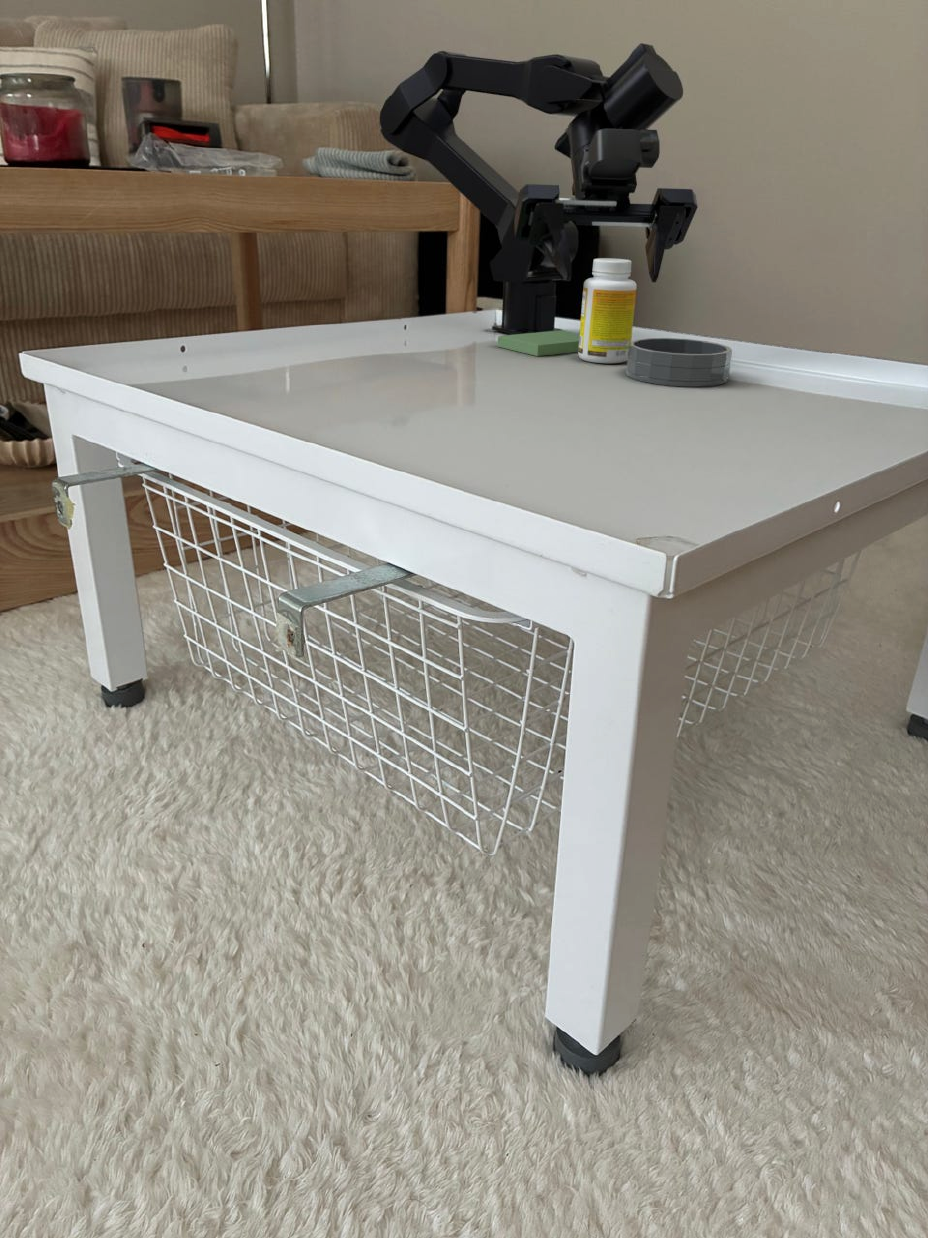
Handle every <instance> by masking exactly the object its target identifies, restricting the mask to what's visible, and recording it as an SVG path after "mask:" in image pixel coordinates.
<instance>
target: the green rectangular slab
mask: <svg viewBox="0 0 928 1238" xmlns="http://www.w3.org/2000/svg"><path fill="white" fill-rule="evenodd" d="M579 336H580V332H579V333H578V332H573V331H568V330H565V329H562V330H559V331H548V332H537V333H526V334H515V335H514V334H505V335H498V336H497V347H498V348H502V349H505V350H510V351H513V352H518V353H523V354H525V355H526V354H527V355H531V356H534V357H543V356H553V355H561V354H571V353H578V349H579Z"/></svg>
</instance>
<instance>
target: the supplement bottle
mask: <svg viewBox="0 0 928 1238" xmlns="http://www.w3.org/2000/svg"><path fill="white" fill-rule="evenodd" d="M631 273H632V260H630V259H624V258H613V257H611V258H610V257H598V258H594V259H593V262H592V272H591V274H592V276H593V277H589V278H587V279H585V280H584V282H583V288H582V290H583V291H582V299H581V300H582V301H581V310H580V311H581V313H580V325H579V334H580V336H579V349H578V352H577V353H578V357H579V358H580V359H581V360H583V361H585V362H590V363H594V364H621V363H625V362H627V357H628V347H629V342H631V341H632V336H633V328H634V327H633V326H634V317H635V306H636V298H637V287H638V285H637V283H636V281H635V280H633V279H629V277H631Z"/></svg>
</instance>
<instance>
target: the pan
mask: <svg viewBox="0 0 928 1238" xmlns="http://www.w3.org/2000/svg"><path fill="white" fill-rule="evenodd" d="M732 355H733V350H732V348H731V347H730V346H728V345H725V344H722V343H718V342H713V341H707V340H700V339H690V338H677V337H676V338H675V337H648V338H647V337H646V338H638V339H634V340H631V342H629V347H628V357H627V360H626V372H625V374H626V376H627V377H629V378H631V379H633V380H636V381H639V382H643V383H647V384H653V385H661V386H668V387H669V386H670V387H684V388H686V387H688V388H690V387H691V388H701V387H714V386H720V385H723V384H726V383H727V382H728V377H729V376H730V370H731V362H732Z"/></svg>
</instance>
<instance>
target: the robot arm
mask: <svg viewBox="0 0 928 1238" xmlns="http://www.w3.org/2000/svg"><path fill="white" fill-rule="evenodd" d="M601 69H602V68H601V65H600V64H599V63H598V62H596V61H594V60H591V59H588V58H583V57H575V56H571V55H565V54H558V53H557V54H556V53H555V54H554V53H553V54H549V55H548V54H547V55H541V56H534V57H531V58H529V59H527V60H521V61H514V60H513V61H512V60H503V59H495V58H486V57H478V56H469V55H466V54H464V53H459V52H453V51H446V50H439V51H437V52H435V53H433V54H431V56H430V57H429V58H428V59H427V61H426V62H425V64H424V65H423V66H422V67H421V68H419V69H418V70H417V71H416V72H413V74H411V75H410V76H408V77H407V78H405V79H404V80H403V81H401V82H400V83H399V84H398V85H397V86H396V88H395V89H394V91H393V92H392V93H391V94H390V95H389V96H388V97H387V99H386V100H384V102H383V105H382V107H381V110H380V113H379V125H380V133H381V135H382V138H383V139H384V140H385V142H387V143H388V144H390V145H392V146H393V147H395V148H396V149H398V150H400V151H401V152H403V153H406V154H408V155H411V156H413V157H415V158H418V159H420V160H424V161H426V162H427V163H429V165H431V166H432V167H433V168H434V169H435V170H436V171H437V172H438V173H440V175H441V176H442V177H443V178H444V179H445V180H447V181H448V182H449V183H450V184H451V185H452V186H453V187H454V188H455V189H457V191H458V192H459V193H460V194H461V195H462V196H464V198H466V199H467V201H469V202H470V203H471V204H472V205H473V206H474V207H475V208H476V209H477V210H478V211H479V212H481V213H482V215H483V216H484V217H486V218H487V219H488V220H489V221H490V222H491V223H492V224H493V226H495V228H496V229H497V233H498V238H499V242H500V245H501V249H500V250H499V251H498V252H497V253H496V255H495V256H494V257H493V259H492V260H490V263H489V266H490V272H491V276H492V280H493V281H494V282H502V283H503V286H502V287H503V288H502V309H501V324H498V325H491V330H492V331H496V332H501V333H505V334H508V335H515V334H526V333H537V332H548V331H559V330H563V329H562V328H557V327H555V323H556V322H555V321H556V307H557V295H556V287H557V286H556V285H557V282H555V281H566V282H570V281H571V278H572V262H573V260H574V259H575V258H576V256H577V253H578V249H579V230H578V228H577V226H594V227H595V226H600V227H635V228H636V227H639V228H640V227H641V228H645V229H644V231H645V238H646V243H645V246H644V248H645V255H646V262H647V266H648V267H647V268H648V276H649V278H650V280H651V283H654V284H655V283H657V281H658V279H659V275H660V271H661V267H662V263H663V259H664V255H665V250H670V249H672V248H673V247H674V245H675V246H676V245H678V244H680V243H683V242H684V240H685V237H686V236H687V233H688V230H689V228H690V226H691V224H692V221H693V220H694V216H695V214H696V213H697V210H698V208H699V207H698V200H697V195H696V193H695V192H694V190H693V188H669V187H668V188H666V187H657V189H656V191H655V194H654V198H653V200H652V203H631V197H630V195H631V194H635V192H636V189H637V186H638V180H637V172H639V169H641V168H642V169H652V168H654V166H655V165H656V163H657V162H658V160H659V158H660V154H661V148H660V147H661V146H660V145H661V144H660V143H661V142H660V137H659V133H658V132H659V131H658V130H657V129H650V128H651V126H653V125H654V124H655V123H656V122H657V121H659V119H661V118H662V117H663V116H664V115H665V114H666V113H667V112H668V111H669V110H670V109H672V108H673V107H674V106H675V105H676V104H677V103H678V102H679V101H681V100H682V98H683V96H684V87H683V84H682V80H681V78H680V76H679V74H678V72H677V71H675V70H673V68H672V67H671V65H670V64H669V63H668V62H667V61H666V60H665V59H664V58H663V57H661V56H660V55H659V54H658V53H657V52H656V49H655V48H654V45H652V44H648V43H642V42H641V43H639V44H638V45H637V46H636V47H635V48H634V49H633V50H632V52H631V53H630V55H629V56H628V58H627V59H626V60H625V61H624V62H623V63H622V64H621V65H620V66H619V67H618V68H617V69H616V70H614V72H613V73H612V74H611V75H610V76H606V75H604V73H603V72H602V70H601ZM441 90H442V91H441ZM467 91H468V92H475V93H481V94H487V95H488V94H489V95H495V96H500V97H501V96H502V97H508V98H514V99H516V100H519V101H521V102H522V103H524V104H525V105H526V106H528V107H530V108H532V109H535V110H537V111H540V112H542V113H544V114H547V115H553V116H554V115H555V116H563V117H574V118H573V119H572V120H571V121H570V122H569V124H568V125H567V128H566V129H565V130H564V132H563V133H562V134H561V135H560V136H559V137H558V138H557V140H556V142H555V144H554V147H553V148H554V150H555V151H556V152H558V153H560V154H561V155H563V156H565V157H567V158H568V159H570V164H571V172H572V181H573V182H572V186H571V195H572V196H574V197H560V194H561V192H560V185H559V184H538V183H537V184H536V183H535V184H534V183H533V184H532V183H527V184H526V183H524V185H523V186H522V187H520V189H519V190H517V189H516V188H515V187H514V186H513V185H512V184H510V183H509V181H507V180H506V179H505V178H504V177H503V176H502V175H501V174H500V173H499V172H497V170H495V169H494V168H493V167H492V166H491V165H490V164H489V163H488V162H487V161H485V160H484V158H482V157H481V156H480V155H479V154H478V153H476V151H474V149H472V148H471V147H470V146H469V145H468V143H466V142H465V141H464V140H463V139H462V138H461V137H460V136H458V134H457V131H456V128H455V127H456V126H455V121H454V119H455V118H456V117H457V116H458V114H459V112H460V107H461V103H462V99H463V96H464V94H466V92H467ZM439 92H440V93H439ZM438 93H439V95H438V96H437V97H435V96H436V95H437V94H438ZM574 222H575V223H574Z"/></svg>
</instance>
